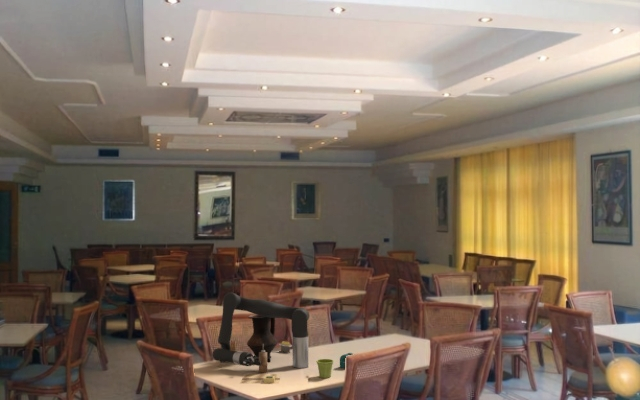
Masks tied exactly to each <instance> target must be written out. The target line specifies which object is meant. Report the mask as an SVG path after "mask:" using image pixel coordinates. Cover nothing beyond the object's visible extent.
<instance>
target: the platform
mask: <svg viewBox="0 0 640 400" xmlns="http://www.w3.org/2000/svg"><path fill="white" fill-rule="evenodd" d="M278 345H279V346H280V352H283V351H285V352H284V353H287V352H289V353H288V354H290V353H291V349H290V348H292V347H293V344H291V342H288V341H285V340H284V341H281V343H278Z"/></svg>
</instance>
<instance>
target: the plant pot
mask: <svg viewBox="0 0 640 400" xmlns="http://www.w3.org/2000/svg"><path fill="white" fill-rule="evenodd" d="M334 361H335V360H333V359H330V358H320V359H316V364H317V368H318V375H319V377H320V378H323V379H328V378H331V377H332V370H333V364H334Z"/></svg>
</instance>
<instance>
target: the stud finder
mask: <svg viewBox="0 0 640 400" xmlns="http://www.w3.org/2000/svg"><path fill="white" fill-rule="evenodd" d="M274 381H275V376H265V378H264V383H263V384H275V383H274Z"/></svg>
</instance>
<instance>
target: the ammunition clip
mask: <svg viewBox="0 0 640 400" xmlns="http://www.w3.org/2000/svg"><path fill="white" fill-rule="evenodd" d="M230 350H232V351H236V341H235V340H233V339H232V340H231V339H230ZM219 363H223V362H222V361H219Z"/></svg>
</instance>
